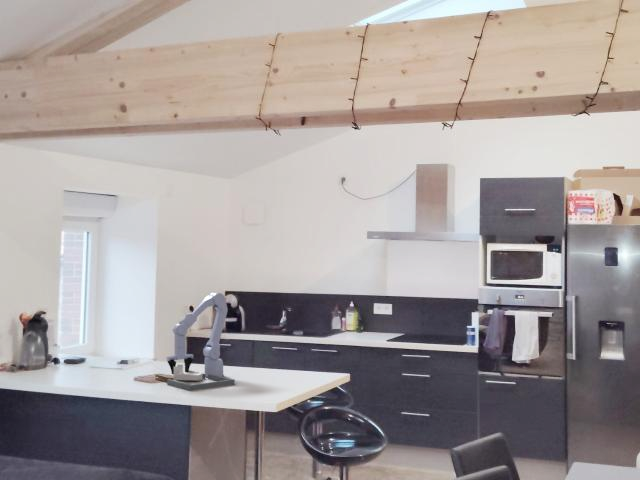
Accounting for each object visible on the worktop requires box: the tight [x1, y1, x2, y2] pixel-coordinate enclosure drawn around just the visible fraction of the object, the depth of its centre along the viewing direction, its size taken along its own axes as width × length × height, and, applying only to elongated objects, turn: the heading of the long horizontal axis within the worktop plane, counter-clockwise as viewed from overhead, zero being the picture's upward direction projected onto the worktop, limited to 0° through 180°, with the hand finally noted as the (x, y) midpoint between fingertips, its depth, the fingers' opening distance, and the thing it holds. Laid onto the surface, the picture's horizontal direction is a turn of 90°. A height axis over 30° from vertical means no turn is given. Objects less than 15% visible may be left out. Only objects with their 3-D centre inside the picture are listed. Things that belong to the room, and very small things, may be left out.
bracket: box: [173, 364, 204, 382], centre depth 390 cm, size 13×7×8 cm, turn 82°
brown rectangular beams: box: [154, 369, 206, 383], centre depth 394 cm, size 20×16×2 cm
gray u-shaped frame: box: [166, 374, 236, 392], centre depth 379 cm, size 25×22×2 cm
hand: (180, 373), depth 395 cm, fingers open, 7 cm apart
